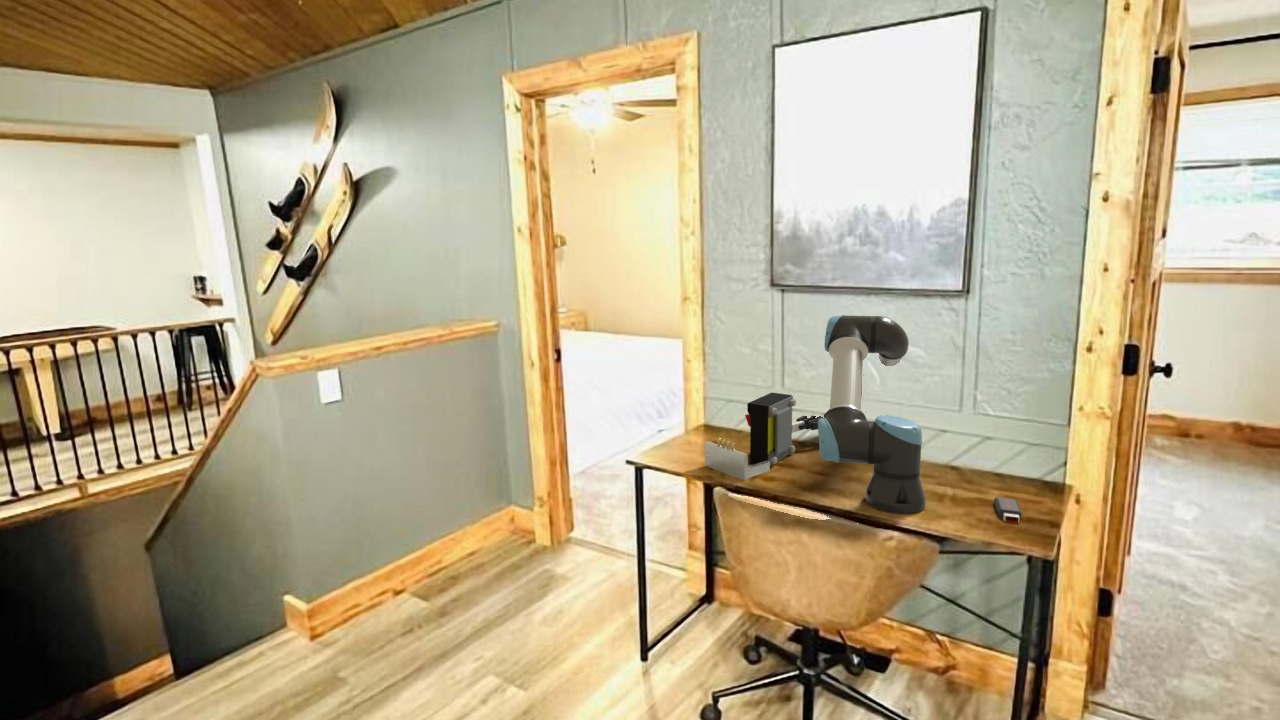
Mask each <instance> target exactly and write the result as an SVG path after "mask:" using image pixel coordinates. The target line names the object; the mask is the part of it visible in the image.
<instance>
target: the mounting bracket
mask: <svg viewBox="0 0 1280 720" xmlns="http://www.w3.org/2000/svg"><path fill="white" fill-rule="evenodd" d="M730 444H731V445H730ZM704 454H705V455H704V459H705V460H704V463H705V465H704V466H705V467H706V466H707V467H706V468H708V467H710V468H709V469H711V468H713V469H712V470H714V469H715V470H714V471H717V470H718V471H717V472H720V471H721V472H720V473H722V472H723V473H722V474H725V475H728V476H730V477H734V478H736V479H739V480H741V481H747V480H748V479H750V478H753V477H756V476H759V475H761V474H764V473H768V472H770V471H771V469H770V468H771V466H770V462H769V461H763V462H760V463H757V464H751V465H749V453H745V452H743V451H740V450H736V449H735V441H734V442H731V443H730V440H726V439H722V440H721V438H720V437H718V438H717V443H714V442H711V441H705V442H704Z"/></svg>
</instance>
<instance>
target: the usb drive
mask: <svg viewBox="0 0 1280 720" xmlns="http://www.w3.org/2000/svg"><path fill="white" fill-rule="evenodd" d="M993 504H995V505H994V507H996V508H995V510H997V511H996V513H998V514H997V515H998V517H1000V518H1001V519H1003V521H1004V522H1007V521H1011V522H1010V523H1016V522H1017V523H1018V524H1020V520H1021V519H1022V515H1023V513H1022V510H1021V508H1020V505H1019V503H1018V501H1017V500H1016V499H1015V498H1008V497H998V496H997V497H995V498H994V499H993Z"/></svg>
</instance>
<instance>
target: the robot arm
mask: <svg viewBox="0 0 1280 720" xmlns="http://www.w3.org/2000/svg"><path fill="white" fill-rule="evenodd" d="M827 321H828V322H827V325H826V328H825V335H824V351H826V352H828V353H829V357H831V358H832V373H831V387H830V401H829V406H830V409H829V410H828V411H827V412H826V413H825V414H824V418H823V417H821V416H819V417H817V418H815V417H816V416H813V415H814V414H813V415H810V416H811V417H810V418H807V416H804V415H801V416H800V417H798V418H796V419H795V420H796V421H795V422H792V434H793V433H797V432H799V431H803V430H810V431H815V430H816V431H817V432H818V435H817V436H818V447H819V455H820V458H821V459H822V460H824V461H827V462H828V461H829V462H834V463H849V464H862V465H863V464H864V465H873V473H872V476H871V478H870V481H869V483H868V486H867V488H866V491H865V501H866V503H867V504H868V505H869V506H871V507H873V508H874V509H878V510H880V511H884V512H887V513H895V514H913V512H915V513H919V512H921V511H923V510H925V509H926V503H927V502H926V501H927V497H926V495H925V491H924V488H923V485H922V482H921V481H922V480H921V462H922V461H921V459H922V445H923V431H922V427H921V426H920V425H919V424H918V423H916V422H915V421H913V420H911V419H908V418H905V417H902V416H895V415H890V414H889V415H888V414H886V415H885V414H884V415H882V414H881V415H877V416H876V418H875V419H874V421H873V420H872V421H871V420H867V416H866V413H865V414H864V413H863V412H862V411H861V402H862V399H863V396H862V375H863V361H864V360H865V359H866V358H867V356H868V354H877V355H878V357H879V359H880V361H881V363H882V364H884V365H885V366H894V365H896V364H897V363H899V362H900V360H901V359H902V357H903V358H904V356H905V355H906V354H907V353H908V350H909V337H908V335H907V333H906V331H905V329H904V328H903V327H902V326H901V325H900V324H898V322H896V321H895V320H893V319H891V318H889V317H886V316H882V315H875V316H874V315H872V316H871V315H870V316H869V315H844V314H841V315H833V316H831V317H830V318H829V319H828V320H827ZM918 511H919V512H918Z"/></svg>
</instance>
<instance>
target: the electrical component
mask: <svg viewBox="0 0 1280 720" xmlns="http://www.w3.org/2000/svg"><path fill="white" fill-rule="evenodd" d="M746 405H747V409H746V410H747V413H748V414H745V415H744V416H745V418H746V419H745V420H746V422H747V425H748V427H750V429H749V430H750V433H749V435H750V436H749V438H750V439H749V448H750V449H749V452H750V453H749V460H750V461H749V464H751V465H754V464H757V463H760V462H763V461H769V462H770V467H771V466H773V465H775V464H777V463H778V462H779V461H781V460H782V459H784V458H785V457H788V456H789V455H790V454H791V453H795V451H796V447H795V445H793V442H792V441H793V439H792V437H793V433H792V423H793V407H795V406H796V405H797V400H796V399H794V396H793V395H792V394H786V393H781V392H780V393H777V392H770V393H768V394H766V395H765V394H764V395H763V396H760V397H758V398H756V399H754V400H752V401H750V402H748V403H746Z"/></svg>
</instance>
